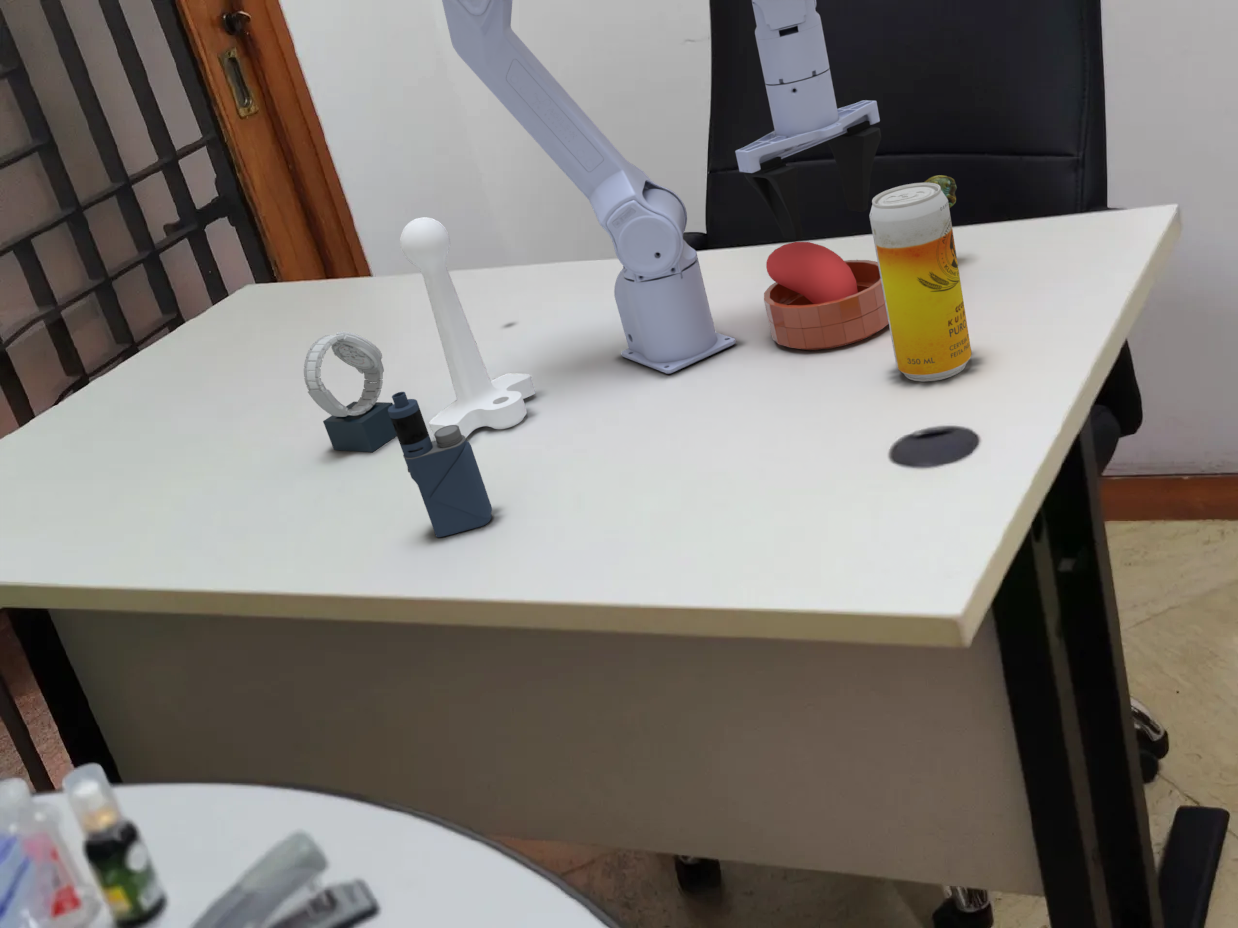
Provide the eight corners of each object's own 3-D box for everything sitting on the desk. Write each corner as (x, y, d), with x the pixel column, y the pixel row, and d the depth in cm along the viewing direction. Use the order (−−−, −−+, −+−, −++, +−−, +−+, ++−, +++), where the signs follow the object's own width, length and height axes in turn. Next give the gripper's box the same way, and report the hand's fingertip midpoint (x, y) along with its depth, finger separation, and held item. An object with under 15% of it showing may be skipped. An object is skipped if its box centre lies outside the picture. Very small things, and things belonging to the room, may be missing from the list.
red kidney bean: (803, 274, 126) (788, 222, 122) (877, 297, 120) (864, 243, 116) (769, 306, 124) (753, 255, 120) (842, 331, 118) (828, 278, 114)
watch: (415, 422, 127) (379, 319, 123) (359, 460, 121) (319, 354, 117) (376, 420, 130) (339, 320, 126) (320, 458, 125) (279, 354, 120)
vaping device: (432, 526, 104) (384, 393, 99) (495, 509, 104) (449, 375, 99) (430, 541, 102) (381, 405, 97) (494, 523, 102) (448, 386, 97)
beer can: (974, 377, 103) (946, 197, 97) (897, 389, 105) (865, 212, 99) (971, 348, 108) (944, 175, 102) (898, 360, 110) (867, 190, 104)
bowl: (749, 340, 124) (739, 296, 122) (844, 296, 128) (835, 253, 126) (823, 363, 114) (814, 315, 112) (923, 315, 118) (915, 268, 116)
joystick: (507, 392, 128) (445, 198, 120) (561, 397, 123) (500, 195, 115) (427, 444, 121) (355, 241, 113) (481, 450, 116) (410, 239, 108)
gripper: (756, 102, 107) (788, 256, 113) (890, 51, 112) (915, 201, 118) (710, 100, 113) (743, 247, 118) (840, 52, 118) (865, 195, 124)
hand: (826, 224), depth 119 cm, fingers open, 7 cm apart
